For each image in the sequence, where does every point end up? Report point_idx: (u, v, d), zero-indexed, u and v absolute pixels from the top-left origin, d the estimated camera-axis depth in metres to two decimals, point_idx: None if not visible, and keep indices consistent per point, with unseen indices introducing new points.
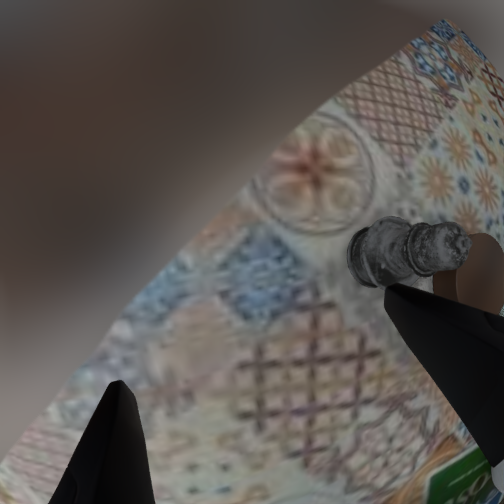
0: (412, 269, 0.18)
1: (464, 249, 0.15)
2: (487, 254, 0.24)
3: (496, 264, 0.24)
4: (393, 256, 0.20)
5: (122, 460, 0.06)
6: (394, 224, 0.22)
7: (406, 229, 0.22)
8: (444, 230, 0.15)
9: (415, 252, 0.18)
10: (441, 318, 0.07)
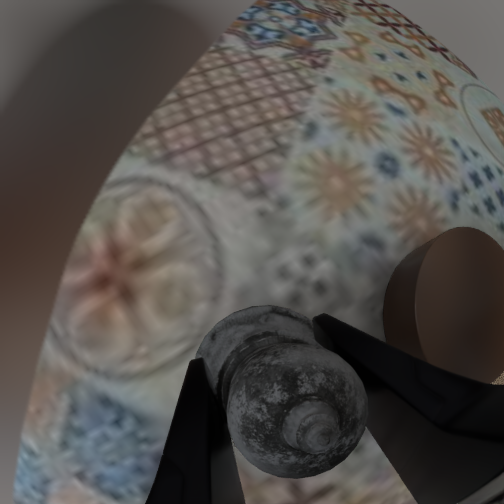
0: None
1: None
2: (467, 263, 0.14)
3: (489, 267, 0.14)
4: None
5: (219, 439, 0.06)
6: (240, 328, 0.12)
7: (269, 326, 0.12)
8: (238, 401, 0.05)
9: None
10: (359, 363, 0.07)
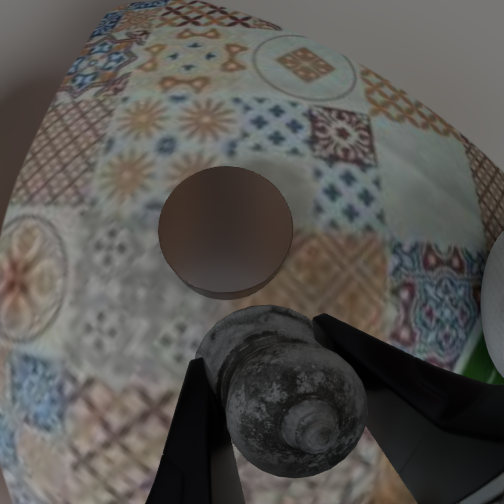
0: None
1: None
2: (207, 196, 0.21)
3: (235, 191, 0.21)
4: None
5: (219, 439, 0.06)
6: (240, 328, 0.12)
7: (269, 325, 0.12)
8: (238, 400, 0.05)
9: None
10: (359, 363, 0.07)
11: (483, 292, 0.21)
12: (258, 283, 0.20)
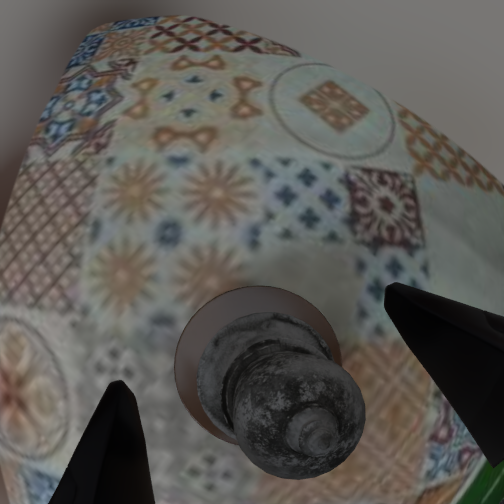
0: None
1: None
2: None
3: None
4: None
5: (122, 460, 0.06)
6: (243, 334, 0.12)
7: (271, 332, 0.12)
8: (245, 408, 0.05)
9: None
10: (441, 318, 0.07)
11: None
12: None
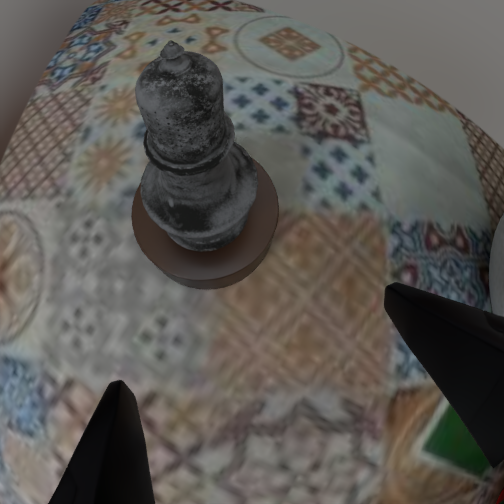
0: (168, 171, 0.11)
1: (181, 66, 0.08)
2: None
3: None
4: (165, 177, 0.13)
5: (122, 460, 0.06)
6: None
7: None
8: None
9: (153, 143, 0.10)
10: (441, 318, 0.07)
11: (492, 272, 0.19)
12: (241, 268, 0.18)
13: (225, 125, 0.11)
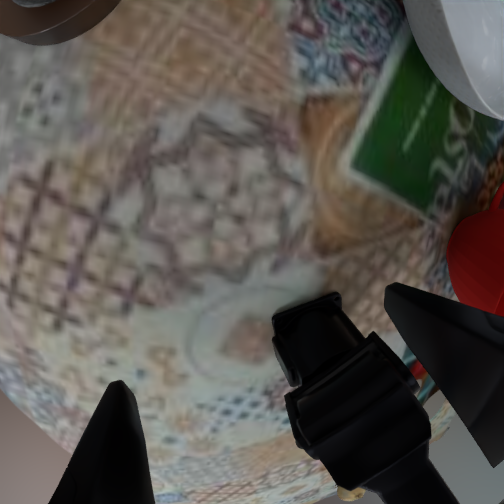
0: None
1: None
2: None
3: None
4: None
5: (122, 460, 0.06)
6: None
7: None
8: None
9: None
10: (441, 318, 0.07)
11: None
12: None
13: None
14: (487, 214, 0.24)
